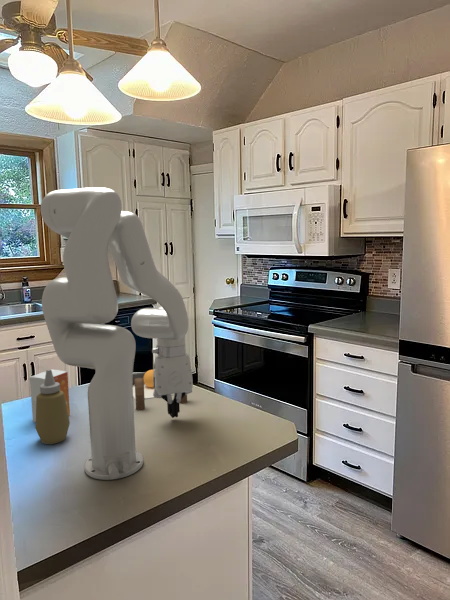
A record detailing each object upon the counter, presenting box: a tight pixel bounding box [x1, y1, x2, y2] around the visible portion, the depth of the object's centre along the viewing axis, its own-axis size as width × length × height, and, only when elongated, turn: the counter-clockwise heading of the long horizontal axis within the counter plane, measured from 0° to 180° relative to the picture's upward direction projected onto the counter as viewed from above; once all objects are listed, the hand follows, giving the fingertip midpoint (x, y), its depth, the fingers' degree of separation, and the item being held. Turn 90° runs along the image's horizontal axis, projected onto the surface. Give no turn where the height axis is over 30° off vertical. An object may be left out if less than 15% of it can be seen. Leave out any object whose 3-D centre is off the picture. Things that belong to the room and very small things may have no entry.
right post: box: [179, 394, 188, 404], centre depth 140 cm, size 3×3×9 cm
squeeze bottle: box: [35, 369, 71, 445], centre depth 115 cm, size 8×8×18 cm
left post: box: [134, 378, 146, 411], centre depth 135 cm, size 3×3×9 cm
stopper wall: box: [133, 371, 147, 386], centre depth 160 cm, size 2×10×4 cm, turn 112°
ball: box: [143, 369, 154, 388], centre depth 155 cm, size 6×6×6 cm
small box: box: [29, 368, 71, 423], centre depth 129 cm, size 8×6×13 cm
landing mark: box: [133, 384, 174, 401], centre depth 151 cm, size 13×13×1 cm
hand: (173, 415), depth 126 cm, fingers closed
